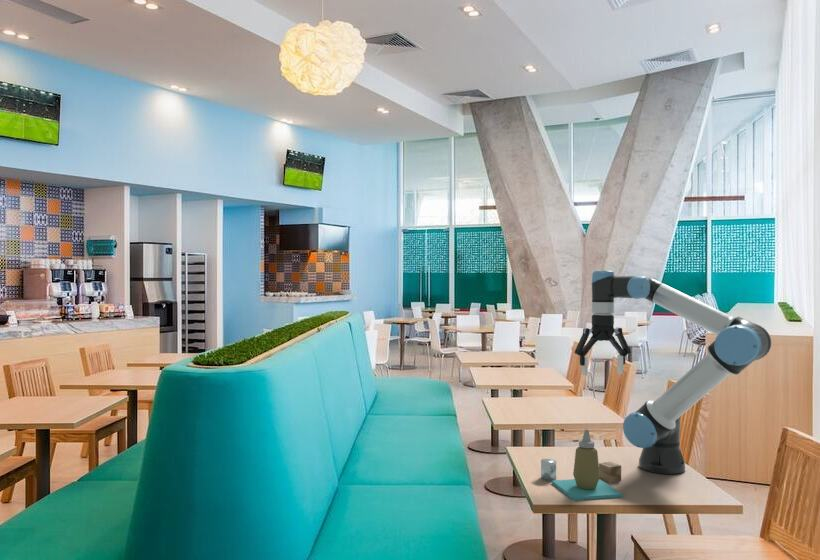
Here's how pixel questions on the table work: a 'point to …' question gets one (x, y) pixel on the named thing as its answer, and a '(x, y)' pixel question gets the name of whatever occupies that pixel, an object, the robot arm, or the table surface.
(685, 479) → the table surface
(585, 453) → the squeeze bottle
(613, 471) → the walnut block
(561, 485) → the teal mat
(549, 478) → the grey metal tin
